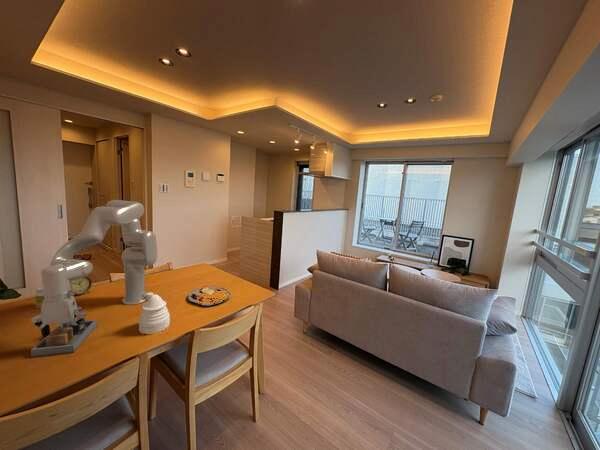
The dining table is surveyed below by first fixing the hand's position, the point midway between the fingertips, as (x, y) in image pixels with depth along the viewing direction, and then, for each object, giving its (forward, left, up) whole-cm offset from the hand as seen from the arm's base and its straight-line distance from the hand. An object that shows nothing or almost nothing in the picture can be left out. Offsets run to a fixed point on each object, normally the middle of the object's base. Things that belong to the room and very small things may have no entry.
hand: (61, 334), depth 98 cm
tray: (0, -4, -5) cm, 7 cm away
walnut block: (0, +1, -5) cm, 5 cm away
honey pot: (-32, -8, -5) cm, 33 cm away
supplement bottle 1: (+27, -39, -5) cm, 48 cm away
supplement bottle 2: (-1, -9, -5) cm, 10 cm away
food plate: (-56, -36, -6) cm, 67 cm away
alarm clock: (+17, -51, -5) cm, 54 cm away
